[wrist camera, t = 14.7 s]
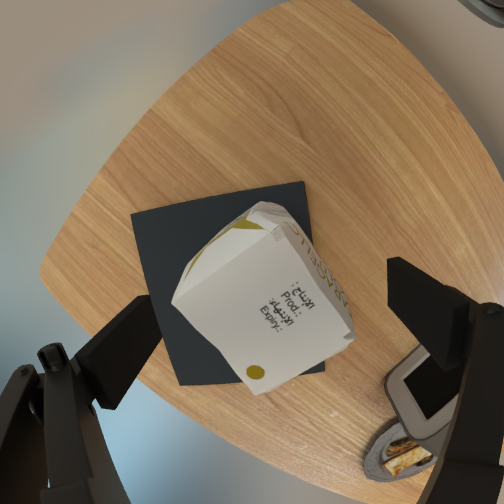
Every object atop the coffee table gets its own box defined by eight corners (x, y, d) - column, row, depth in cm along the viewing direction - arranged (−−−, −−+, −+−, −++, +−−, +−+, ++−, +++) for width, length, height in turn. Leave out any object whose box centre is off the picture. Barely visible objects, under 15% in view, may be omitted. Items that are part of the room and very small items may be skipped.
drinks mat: (132, 214, 32) (130, 214, 31) (303, 181, 30) (303, 181, 30) (180, 383, 37) (179, 385, 36) (324, 368, 35) (325, 371, 35)
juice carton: (271, 190, 30) (280, 196, 12) (317, 255, 31) (377, 344, 13) (215, 232, 31) (147, 295, 13) (261, 293, 33) (255, 412, 14)
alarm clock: (459, 301, 32) (527, 351, 17) (482, 341, 34) (535, 390, 18) (379, 380, 36) (416, 458, 20) (411, 408, 37) (446, 474, 22)
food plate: (477, 369, 35) (487, 379, 31) (466, 437, 39) (472, 446, 36) (352, 432, 38) (356, 447, 35) (367, 484, 42) (370, 496, 39)
